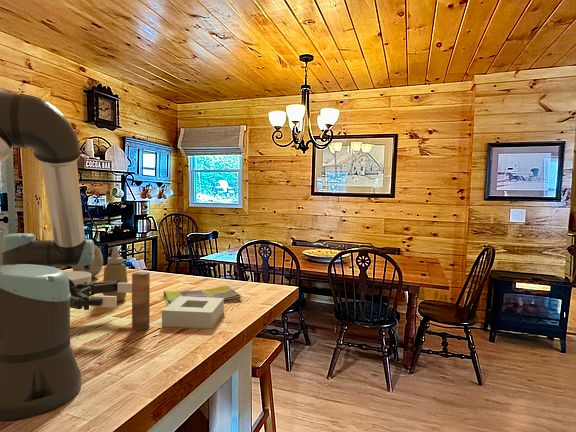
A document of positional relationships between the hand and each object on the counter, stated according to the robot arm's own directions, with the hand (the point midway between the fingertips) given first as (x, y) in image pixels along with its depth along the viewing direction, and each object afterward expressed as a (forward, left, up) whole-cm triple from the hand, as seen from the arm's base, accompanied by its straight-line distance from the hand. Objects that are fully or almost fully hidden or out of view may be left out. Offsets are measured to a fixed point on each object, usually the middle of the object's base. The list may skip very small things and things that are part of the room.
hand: (129, 294), depth 101 cm
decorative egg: (+51, +43, -9) cm, 68 cm away
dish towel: (+29, -12, -10) cm, 33 cm away
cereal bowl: (+26, +36, -9) cm, 46 cm away
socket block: (+8, -16, -9) cm, 20 cm away
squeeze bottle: (+23, +16, -9) cm, 30 cm away
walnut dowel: (-1, -4, -9) cm, 10 cm away
